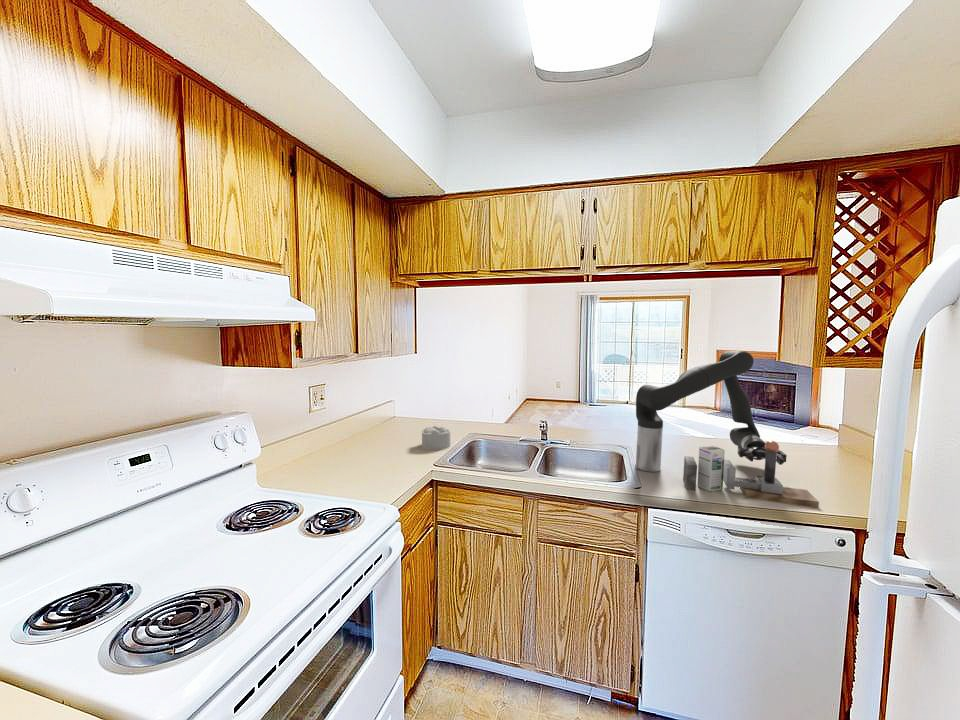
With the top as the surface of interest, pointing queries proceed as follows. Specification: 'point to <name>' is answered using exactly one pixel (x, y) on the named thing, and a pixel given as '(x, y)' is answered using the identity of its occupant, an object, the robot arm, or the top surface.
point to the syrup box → (711, 468)
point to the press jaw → (761, 483)
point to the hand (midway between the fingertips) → (766, 460)
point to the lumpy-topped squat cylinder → (435, 438)
